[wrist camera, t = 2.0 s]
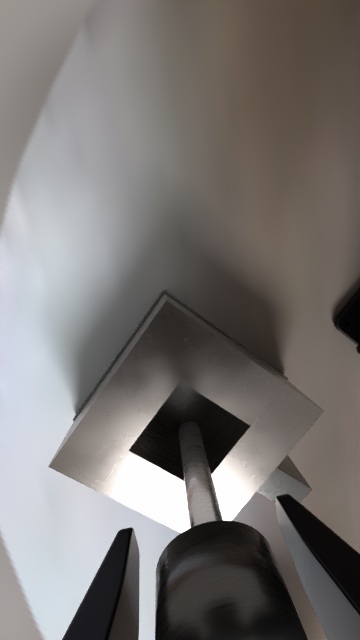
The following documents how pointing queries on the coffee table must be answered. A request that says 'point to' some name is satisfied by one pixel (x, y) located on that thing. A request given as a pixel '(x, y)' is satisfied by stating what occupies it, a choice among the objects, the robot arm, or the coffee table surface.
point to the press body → (187, 420)
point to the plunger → (218, 570)
